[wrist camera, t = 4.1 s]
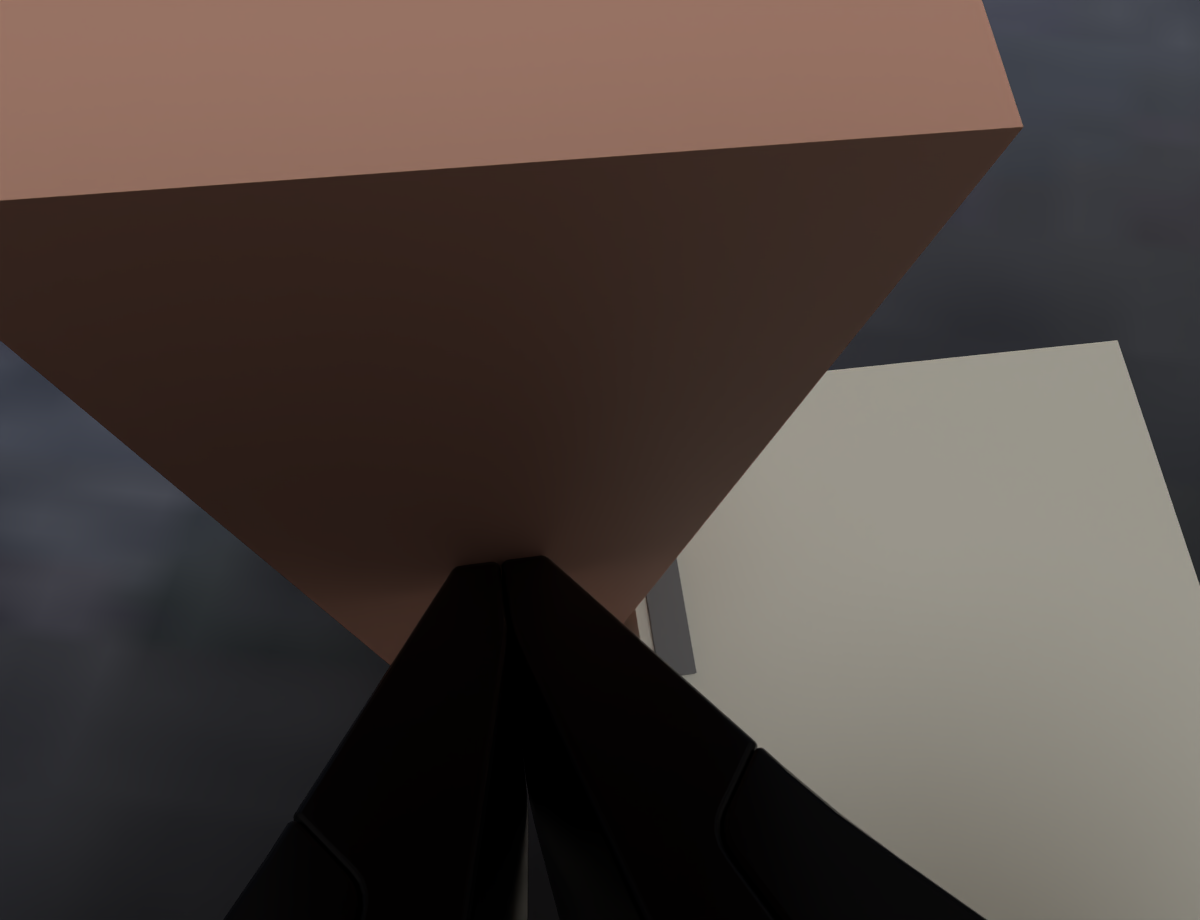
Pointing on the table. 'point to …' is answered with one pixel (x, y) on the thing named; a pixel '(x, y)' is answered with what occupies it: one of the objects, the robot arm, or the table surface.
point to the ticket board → (965, 628)
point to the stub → (470, 256)
